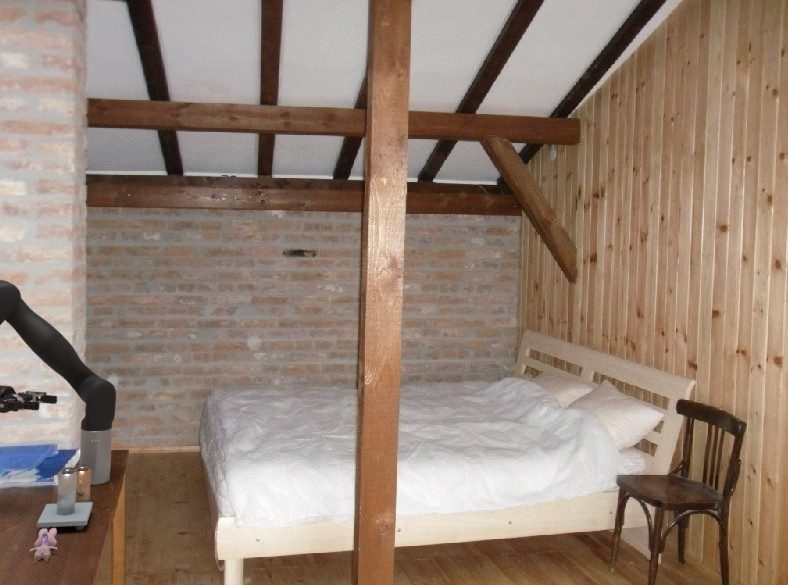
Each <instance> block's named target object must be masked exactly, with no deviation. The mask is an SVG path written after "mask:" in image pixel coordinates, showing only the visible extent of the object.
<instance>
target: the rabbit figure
mask: <svg viewBox="0 0 788 585" xmlns="http://www.w3.org/2000/svg"><path fill="white" fill-rule="evenodd" d="M57 533H58V530H57V527H52V528H50V529H49V531H48V530H47V529H40V530H39V532H38V534H37V535H38V538H37V540H36V541H35V542H34V544H33V545H34V547H33V548H31V549H29V552H33V551H35V552H34V556H33V558H34V561H33V564H36V563H38V561H40V560H42V559H43V560H44V561H43V562H44V563H48V562H49V559H50V558H51V550H58V547H57V546H56V545H57V544H58V541H57V540H56V538H55V537H56V536H57Z"/></svg>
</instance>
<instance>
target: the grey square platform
mask: <svg viewBox="0 0 788 585" xmlns="http://www.w3.org/2000/svg"><path fill="white" fill-rule="evenodd" d="M93 504H94V503H93V501H90V502H85V503H75V512H74V513H73V514H70V515H59V514H57V503H45V506H44V509H43V511H42V512H41V515H40V516H39V519H38V521H37V523H36V528H41V529H47V530H48V532H49V530H50V529H51V527H52V528H57V527H75V530H76V531H78V530H81V531H83V530H84V529H85V526H87V525H88V522H89V519H90V516H91V513H92V509H93V507H94V506H93ZM41 529H40V530H41Z"/></svg>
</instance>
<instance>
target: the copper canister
mask: <svg viewBox="0 0 788 585" xmlns="http://www.w3.org/2000/svg"><path fill="white" fill-rule="evenodd" d="M74 470H75V471H77V482H76V502H75V503H85V502H91V485H90V481H91V468H88V465H80V464H79V465H77V466H76V467H75V468H74Z"/></svg>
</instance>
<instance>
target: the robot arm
mask: <svg viewBox="0 0 788 585" xmlns="http://www.w3.org/2000/svg"><path fill="white" fill-rule="evenodd" d="M4 322H6V323H8V324H9V326H11V327H12V329H14V331H15V332H16V333H17V335H18V336H19V337H20V339H22V341H23V342H24V343H25V344H26V346H28V347H29V349H31V351H32V352H33V353H34V354H35V355H36V356H37V357H38V358H39V359H40V360H41V361H42V362H43V363H44V364H45V365H47V366H48V367H49V368H50V369H51V370H52V371H54V372H55V373H56V374H58V375H59V376H61V377H62V378H63V379H64V380H65V381H66V382H67V383H68V384H69V386H70V387H71V388H72V389H73V390H74V392H75V393H76V394H77V395H78V396H79V398H80V399H81V400H82V401H83V403H85V416H84V418H82V419H81V421H80V422H81V423H80V424H81V425H80V446H79V447H80V448H79V465H88V468H91V481H90V486H92V485H101V484H105V483H107V482H109V481H111V461H112V437H113V435H112V433H113V432H112V431H113V422H114V420H115V415H116V405H117V404H116V402H117V390H116V387H115V386H114V384H113V382H110V381H109V380H107V379H105V378H103V377H100V375H98V374H96V373H95V372H94V371H93V370H91V368H90V367H88V366H87V365H86V364H85V363H84V362H83V360H82V359H81V358H80V356H79V355H78V353H77V351H76V349H75V348H74V346H73V345H72V344H71V343H70V341H69V340H68V339H67V338H66V337H65V336H64V335H63V334H62V333H61V332H60V331H59V330H58V329H57V328H55V327H54V325H52V324H51V323H49V321H47V320H46V319H44V317H42V316H40V315H39V314H38V313H36V312H35V311H34V310H33V309H32V308H30V306H29V305H28V304H27V303H26V302H25V301H24V299H23V298H22V295H21V291H20V289H19V288H18V286H16V285H15V284H13V283H12V282H9V281H8V280H3V279H0V326H1V325H2V324H3V323H4ZM57 403H58V396H57V395H53V394H52V395H51V394H50V395H48V393H47V392H45V391H30V390H26V391H25V392H24V391H21V392H20V391H18V392H16V390H15V389H14V387H13V386H12V385H11V386H10V385H2V384H1V385H0V414H7V413H9V412H15V413H16V412H19V411H25V410H27V411H39V410H40V404H51V405H52V404H53V405H54V404H55V405H56V404H57Z"/></svg>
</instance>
